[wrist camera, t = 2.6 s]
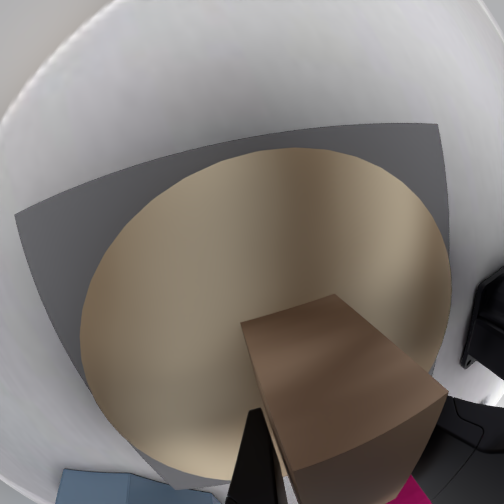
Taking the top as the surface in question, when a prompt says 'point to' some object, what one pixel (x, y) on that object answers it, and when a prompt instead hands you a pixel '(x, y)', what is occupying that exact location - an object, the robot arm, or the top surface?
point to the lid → (276, 323)
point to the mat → (168, 174)
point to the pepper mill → (411, 494)
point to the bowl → (123, 490)
